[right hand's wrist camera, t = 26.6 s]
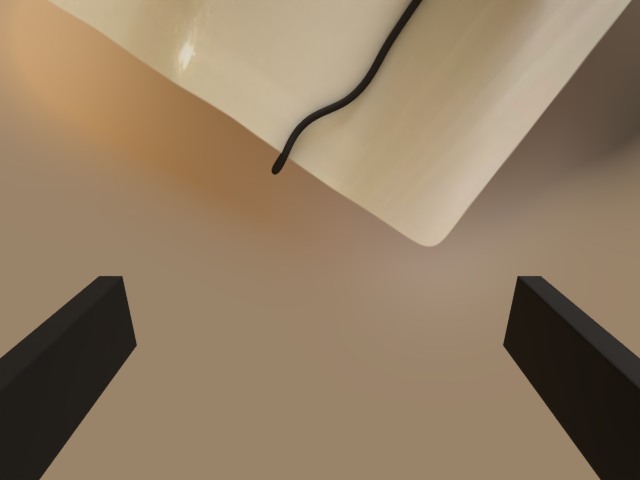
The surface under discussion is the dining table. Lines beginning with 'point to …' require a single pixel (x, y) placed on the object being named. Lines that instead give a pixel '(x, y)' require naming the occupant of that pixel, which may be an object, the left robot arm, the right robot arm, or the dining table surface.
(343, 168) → the dining table surface
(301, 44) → the dining table surface
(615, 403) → the right robot arm
